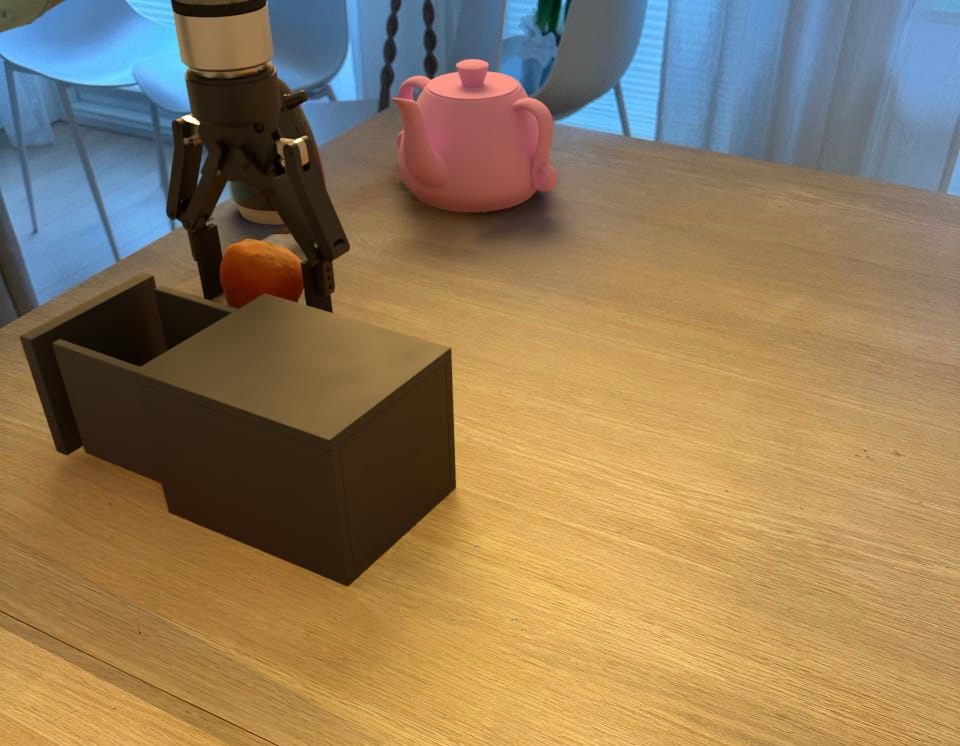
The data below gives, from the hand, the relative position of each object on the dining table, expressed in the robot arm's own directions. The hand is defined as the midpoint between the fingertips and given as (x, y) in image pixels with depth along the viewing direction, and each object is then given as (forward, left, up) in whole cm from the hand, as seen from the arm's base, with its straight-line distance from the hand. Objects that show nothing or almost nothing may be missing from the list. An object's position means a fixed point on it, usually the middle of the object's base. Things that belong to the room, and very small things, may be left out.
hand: (268, 310), depth 104 cm
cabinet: (+23, -22, 0) cm, 32 cm away
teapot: (+1, +33, 0) cm, 33 cm away
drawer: (+8, -22, +1) cm, 23 cm away
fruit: (0, 0, 0) cm, 0 cm away
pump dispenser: (-12, +17, 0) cm, 21 cm away
